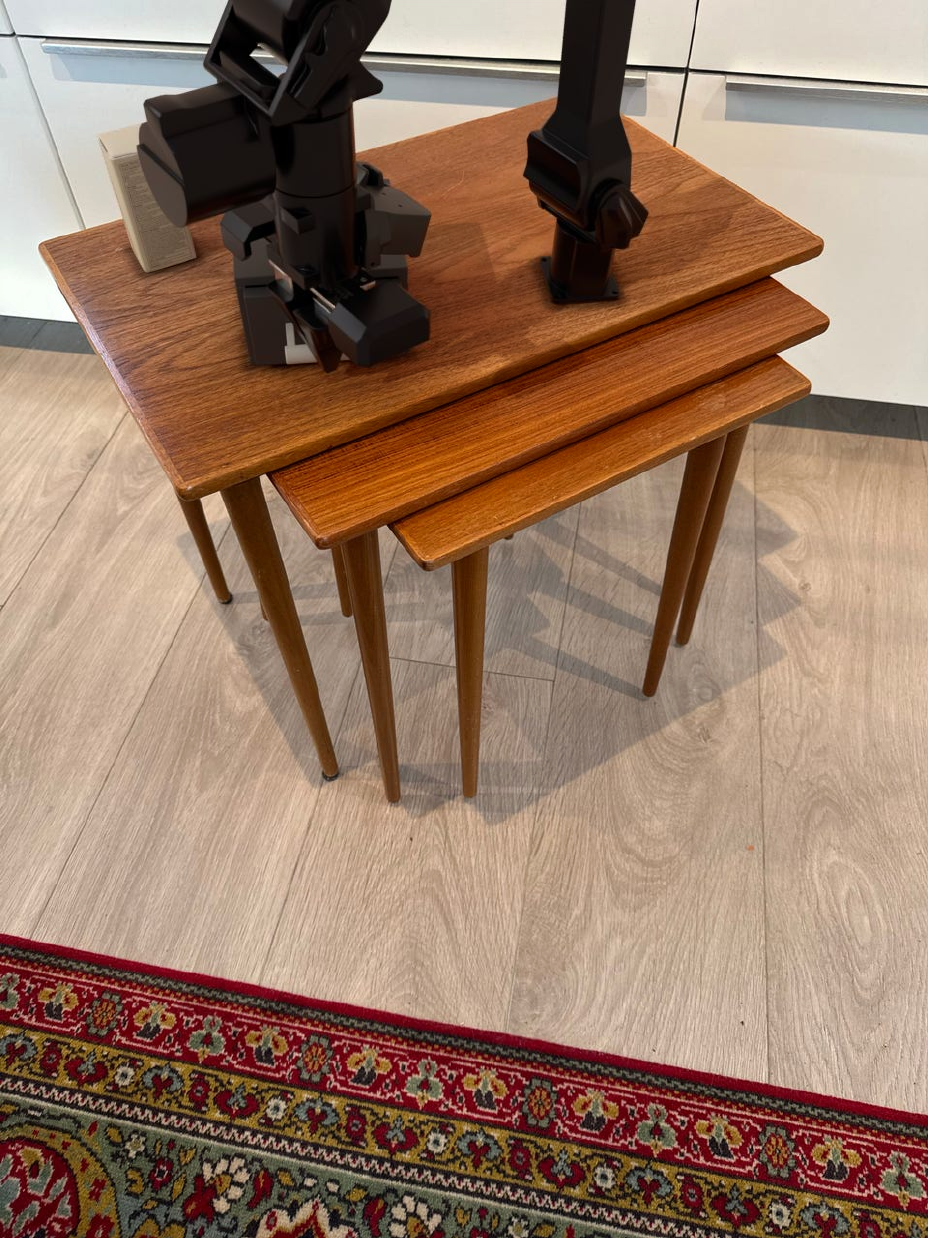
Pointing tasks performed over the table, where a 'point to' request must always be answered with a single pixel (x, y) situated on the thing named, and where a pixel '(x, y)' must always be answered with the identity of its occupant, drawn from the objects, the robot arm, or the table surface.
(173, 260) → the box
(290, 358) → the drawer
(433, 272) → the table surface
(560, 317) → the table surface
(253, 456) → the table surface
